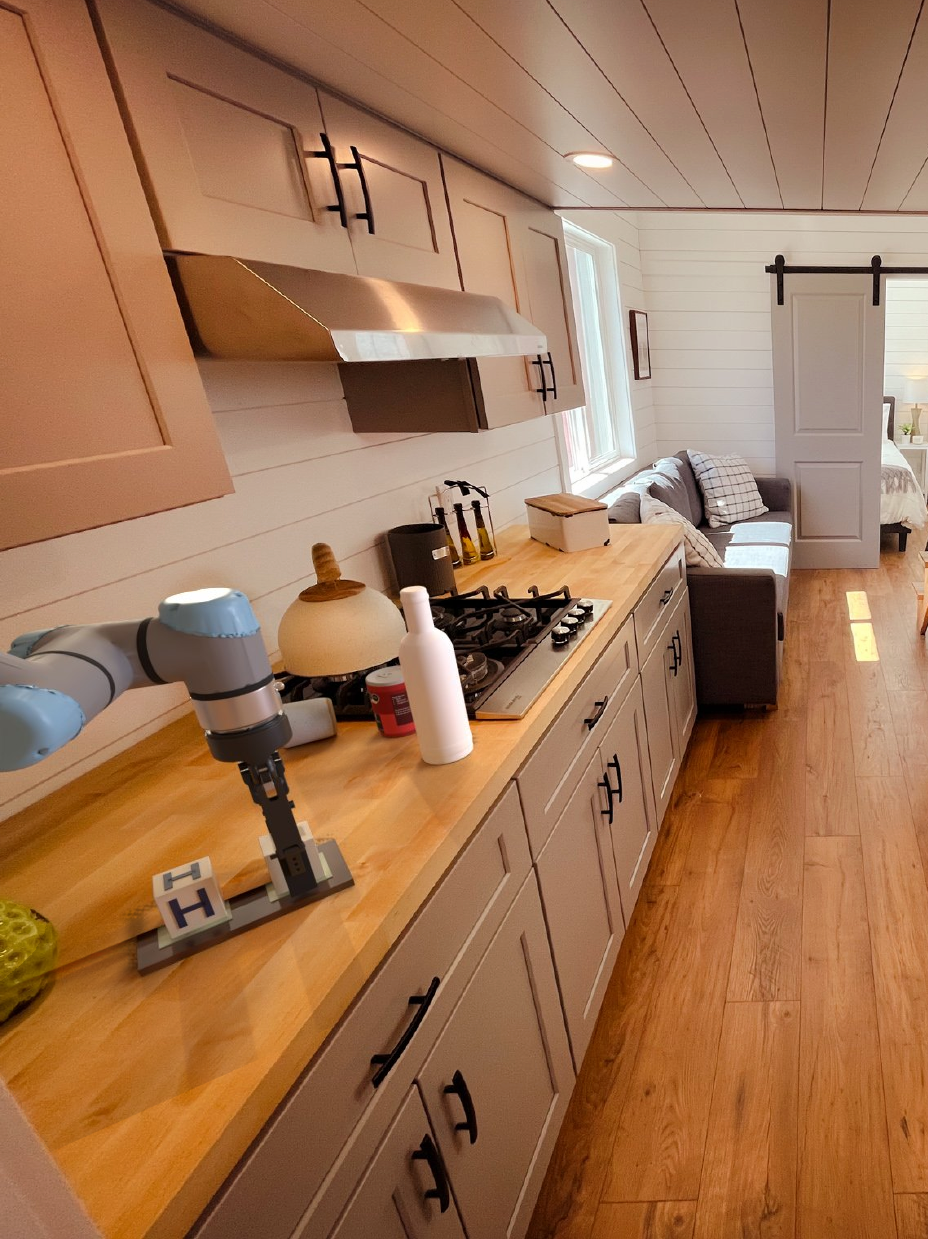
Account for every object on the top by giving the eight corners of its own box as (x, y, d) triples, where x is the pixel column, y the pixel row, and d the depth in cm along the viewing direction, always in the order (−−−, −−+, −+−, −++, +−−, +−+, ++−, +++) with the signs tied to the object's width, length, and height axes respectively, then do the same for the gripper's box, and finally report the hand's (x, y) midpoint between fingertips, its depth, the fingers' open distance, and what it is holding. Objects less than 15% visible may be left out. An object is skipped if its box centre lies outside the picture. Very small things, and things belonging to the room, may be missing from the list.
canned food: (389, 719, 128) (376, 666, 124) (435, 715, 129) (423, 663, 125) (370, 740, 121) (356, 684, 117) (419, 736, 122) (406, 681, 118)
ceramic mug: (342, 739, 120) (332, 701, 118) (285, 755, 115) (272, 716, 113) (335, 718, 128) (325, 681, 125) (281, 732, 123) (269, 694, 120)
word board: (141, 977, 74) (137, 970, 74) (137, 922, 81) (134, 915, 81) (355, 884, 87) (353, 878, 87) (336, 844, 95) (334, 837, 94)
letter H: (171, 940, 78) (153, 898, 75) (168, 915, 81) (151, 875, 79) (228, 916, 81) (212, 876, 79) (223, 894, 84) (207, 854, 82)
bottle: (425, 770, 112) (385, 600, 101) (419, 750, 118) (380, 587, 107) (478, 755, 116) (445, 590, 106) (469, 736, 122) (437, 578, 112)
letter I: (277, 896, 84) (263, 856, 82) (271, 875, 87) (257, 836, 85) (325, 876, 87) (313, 837, 85) (317, 856, 91) (305, 819, 89)
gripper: (300, 739, 75) (351, 900, 83) (271, 680, 89) (317, 824, 97) (211, 766, 70) (274, 934, 78) (194, 699, 84) (250, 849, 92)
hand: (298, 873), depth 87 cm, fingers open, 8 cm apart
